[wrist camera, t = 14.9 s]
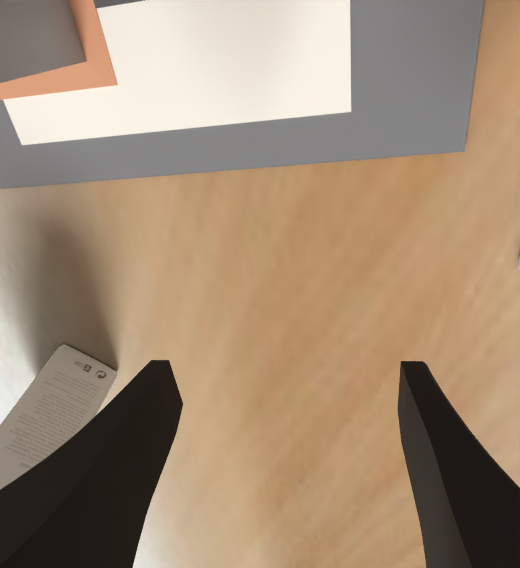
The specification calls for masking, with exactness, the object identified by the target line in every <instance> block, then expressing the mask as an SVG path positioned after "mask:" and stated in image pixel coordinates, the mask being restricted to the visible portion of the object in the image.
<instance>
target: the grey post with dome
mask: <svg viewBox="0 0 520 568" xmlns="http://www.w3.org/2000/svg"><path fill="white" fill-rule="evenodd" d="M83 62H87V61H86V58H85V54H84V51H83V48H82V44H81V41H80V37H79V34H78V31H77V27H76V24H75V21H74V17H73V14H72V11H71V7H70V4H69V1H68V0H0V83H3V82H7V81H11V80H15V79H19V78H23V77H27V76H31V75H35V74H39V73H43V72H47V71H51V70H55V69H59V68H63V67H67V66H71V65H75V64H79V63H83Z"/></svg>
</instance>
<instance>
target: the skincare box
mask: <svg viewBox="0 0 520 568" xmlns="http://www.w3.org/2000/svg"><path fill="white" fill-rule="evenodd" d="M116 376H117V372H116V371H114V370H113V369H111V368H109V367H108V366H106V365H105V364H103V363H101V362H99V361H97V360H95V359H93V358H91V357H89V356H88V355H86V354H84V353H82V352H80V351H78V350H76V349H74V348H72V347H70V346H67V345H65V344H63V345H61V346H59V347H58V348H57V349H56V351H55V352H54V353H53V355H52V356H51V357H50V359H49V360H48V361H47V363H46V364H45V365H44V367H43V368H42V369H41V371H40V372H39V374H38V375H37V376H36V378H35V379H34V380H33V382H32V383H31V385H30V386H29V387H28V389H27V390H26V391H25V393H24V394H23V395H22V397H21V398H20V399H19V401H18V402H17V403H16V405H15V406H14V407H13V409H12V410H11V411H10V413H9V414H8V415H7V417H6V418H5V419H4V421H3V422H2V424H1V425H0V489H2V488H3V487H5V486H6V485H8V484H9V483H11V482H12V481H14V480H15V479H17V478H18V477H20V476H21V475H22V474H24V473H25V472H27V471H28V470H30V469H31V468H32V467H34V466H35V465H37V464H38V463H40V462H41V461H42V460H44V459H45V458H46V457H48V456H49V455H50V454H52V453H53V452H54V451H55V450H57V449H58V448H59V447H60V446H62V445H63V444H64V443H65V442H67V441H68V440H69V439H70V438H71V437H73V436H74V435H75V434H76V433H77V432H79V431H80V430H81V429H82V428H83V427H84V426H85V425H86V424H87V423H88V422H89V421H91V420H92V419H93V418H94V417H95V416H96V414H97V412H98V410H99V408H100V406H101V405H102V403H103V401H104V399H105V397H106V395H107V393H108V392H109V390H110V388H111V386H112V384H113V382H114V380H115V378H116Z"/></svg>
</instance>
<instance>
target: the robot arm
mask: <svg viewBox="0 0 520 568" xmlns="http://www.w3.org/2000/svg"><path fill="white" fill-rule="evenodd" d="M518 268H519V270H520V257H519V261H518ZM182 406H183V402H182V399H181V396H180V393H179V390H178V387H177V384H176V381H175V378H174V375H173V371H172V368H171V365H170V362H169V360H151V361H150V362H149V363H148V364H147V365H146V366H145V367H144V368H143V369H142V370H141V371H140V372H139V373H138V374H137V375H136V376H135V377H134V378H133V379H132V380H131V381H130V382H129V384H128V385H127V386H126V387H125V388H124V389H123V390H122V391H121V392H120V393H119V394H118V395H117V396H116V397H115V398H114V399H113V400H112V401H111V402H110V403H109V404H108V405H107V406H106V407H105V408H104V409H102V410H101V411H100V412H99V413H98V414H97V415H96V416H95V417H94V418H93V419H92V420H91V421H89V422H88V423H87V424H86V425H85V426H84V427H83V428H82V429H81V430H80V431H79V432H77V433H76V434H75V435H74V436H73V437H71V438H70V439H69V440H68V441H67V442H65V443H64V444H63V445H62V446H60V447H59V448H58V449H57V450H55V451H54V452H53V453H52V454H50V455H49V456H48V457H46V458H45V459H44V460H42V461H41V462H40V463H38V464H37V465H35V466H34V467H32V468H31V469H30V470H28V471H27V472H25V473H24V474H22V475H21V476H20V477H18V478H17V479H15V480H14V481H12V482H11V483H9V484H8V485H6V486H5V487H3V488H2V489H0V568H132V567H133V563H134V559H135V555H136V551H137V547H138V543H139V540H140V536H141V532H142V529H143V525H144V521H145V518H146V514H147V511H148V508H149V505H150V502H151V499H152V496H153V494H154V491H155V488H156V486H157V483H158V481H159V478H160V475H161V473H162V470H163V467H164V465H165V462H166V460H167V457H168V454H169V451H170V449H171V446H172V443H173V441H174V438H175V435H176V432H177V428H178V424H179V420H180V415H181V411H182ZM398 417H399V425H400V434H401V442H402V447H403V451H404V455H405V460H406V464H407V469H408V473H409V477H410V482H411V486H412V490H413V495H414V499H415V503H416V508H417V512H418V516H419V521H420V526H421V532H422V538H423V545H424V552H425V559H426V567H427V568H520V488H519V486H518V485H517V484H516V483H515V482H514V481H513V480H512V479H511V478H510V477H509V476H508V475H507V474H506V473H505V472H504V471H503V469H502V468H501V467H500V466H499V465H498V464H497V463H496V462H495V460H494V459H493V458H492V457H491V456H490V455H489V453H488V452H487V451H486V450H485V449H484V447H483V446H482V445H481V444H480V442H479V441H478V440H477V439H476V438H475V436H474V435H473V434H472V432H471V431H470V430H469V429H468V427H467V426H466V425H465V423H464V422H463V420H462V419H461V418H460V416H459V415H458V414H457V412H456V411H455V409H454V408H453V407H452V405H451V404H450V402H449V401H448V399H447V398H446V396H445V395H444V393H443V392H442V390H441V389H440V387H439V385H438V384H437V382H436V380H435V379H434V377H433V375H432V374H431V372H430V370H429V368H428V366H427V364H425V363H424V362H423V361H401V368H400V383H399V397H398Z"/></svg>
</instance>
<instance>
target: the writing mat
mask: <svg viewBox="0 0 520 568" xmlns="http://www.w3.org/2000/svg"><path fill="white" fill-rule="evenodd" d="M68 1H69V4H70V7H71V11H72V14H73V17H74V21H75V24H76V27H77V31H78V34H79V37H80V41H81V44H82V48H83V51H84V54H85V58H86V61H87V62H83V63H79V64H75V65H71V66H67V67H63V68H59V69H55V70H51V71H47V72H43V73H39V74H35V75H31V76H27V77H23V78H19V79H15V80H11V81H7V82H3V83H0V189H5V188H18V187H30V186H43V185H55V184H67V183H80V182H92V181H104V180H117V179H129V178H142V177H154V176H166V175H179V174H191V173H204V172H216V171H228V170H241V169H253V168H266V167H278V166H290V165H303V164H315V163H327V162H340V161H352V160H365V159H377V158H389V157H402V156H414V155H427V154H439V153H451V152H464V151H465V144H466V136H467V128H468V121H469V113H470V105H471V98H472V90H473V82H474V75H475V67H476V60H477V52H478V44H479V37H480V29H481V21H482V14H483V6H484V0H68Z"/></svg>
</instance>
